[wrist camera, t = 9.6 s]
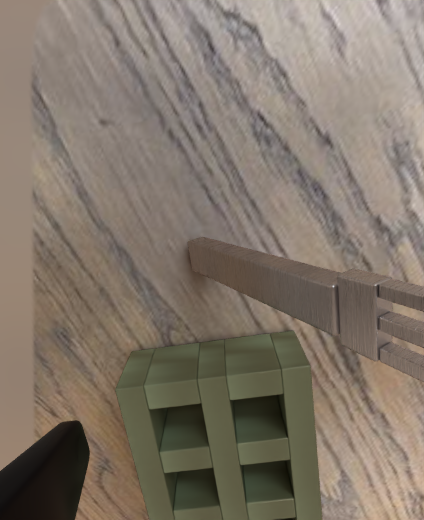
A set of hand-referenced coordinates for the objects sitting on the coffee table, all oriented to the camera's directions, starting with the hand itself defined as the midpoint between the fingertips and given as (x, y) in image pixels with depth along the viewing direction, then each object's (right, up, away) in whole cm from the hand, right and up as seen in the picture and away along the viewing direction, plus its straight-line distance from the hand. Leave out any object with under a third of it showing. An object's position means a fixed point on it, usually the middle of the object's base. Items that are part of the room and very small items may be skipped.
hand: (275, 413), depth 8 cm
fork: (-2, +4, +10) cm, 11 cm away
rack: (0, -7, +14) cm, 16 cm away
